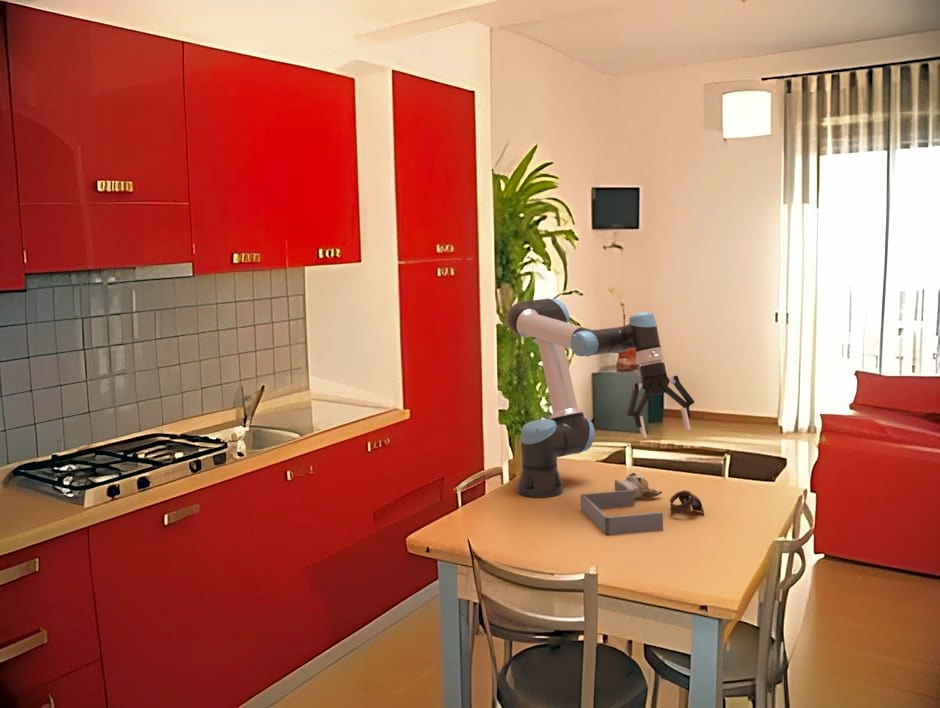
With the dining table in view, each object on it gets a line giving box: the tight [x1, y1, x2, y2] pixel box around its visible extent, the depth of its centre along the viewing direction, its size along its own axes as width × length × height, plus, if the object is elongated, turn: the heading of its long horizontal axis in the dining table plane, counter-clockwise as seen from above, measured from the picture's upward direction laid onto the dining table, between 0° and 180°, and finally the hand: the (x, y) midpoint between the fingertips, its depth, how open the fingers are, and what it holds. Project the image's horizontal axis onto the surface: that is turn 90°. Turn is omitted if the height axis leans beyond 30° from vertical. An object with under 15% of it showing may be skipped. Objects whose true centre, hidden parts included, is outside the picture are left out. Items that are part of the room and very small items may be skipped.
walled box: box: [580, 490, 664, 536], centre depth 260 cm, size 24×17×5 cm
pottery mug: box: [669, 489, 705, 517], centre depth 263 cm, size 12×10×8 cm
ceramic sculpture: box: [614, 472, 663, 500], centre depth 280 cm, size 11×9×15 cm
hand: (666, 434), depth 259 cm, fingers open, 13 cm apart
